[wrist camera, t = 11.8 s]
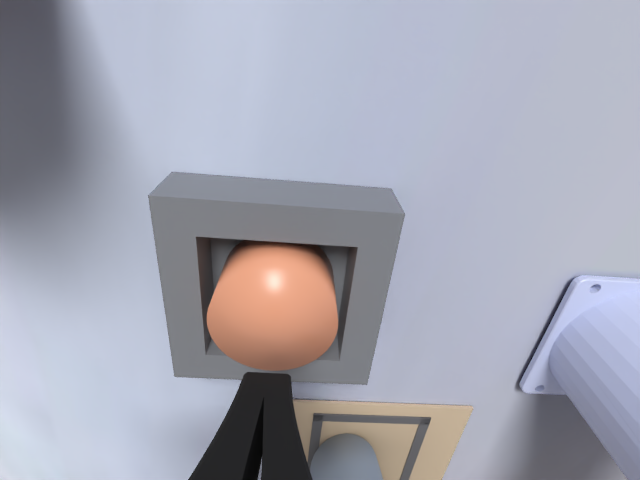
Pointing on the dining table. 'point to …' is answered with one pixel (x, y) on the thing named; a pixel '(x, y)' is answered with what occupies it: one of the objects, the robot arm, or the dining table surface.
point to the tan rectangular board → (388, 433)
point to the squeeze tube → (345, 459)
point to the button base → (276, 226)
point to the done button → (274, 305)
